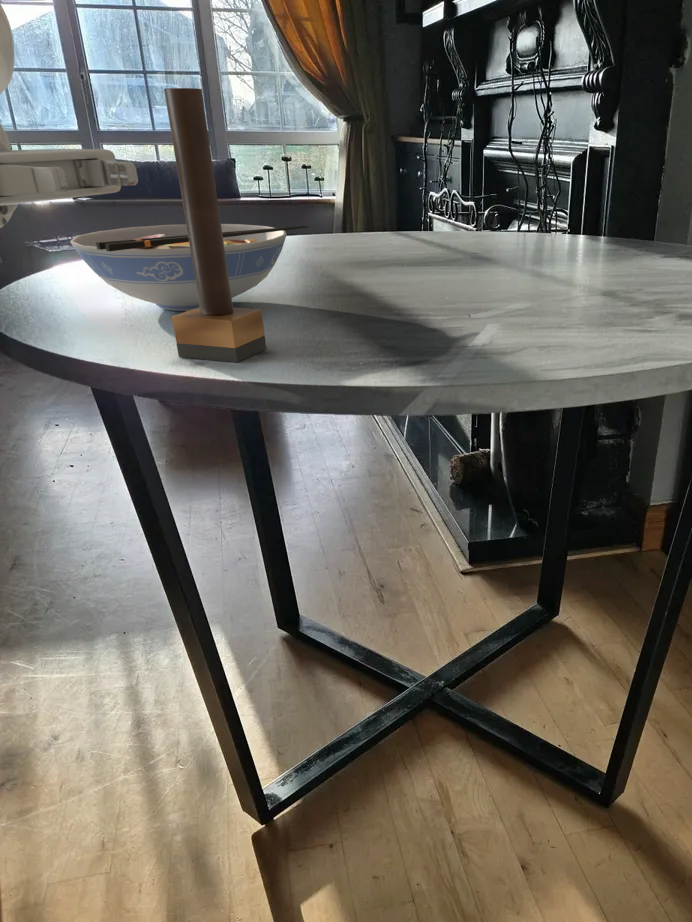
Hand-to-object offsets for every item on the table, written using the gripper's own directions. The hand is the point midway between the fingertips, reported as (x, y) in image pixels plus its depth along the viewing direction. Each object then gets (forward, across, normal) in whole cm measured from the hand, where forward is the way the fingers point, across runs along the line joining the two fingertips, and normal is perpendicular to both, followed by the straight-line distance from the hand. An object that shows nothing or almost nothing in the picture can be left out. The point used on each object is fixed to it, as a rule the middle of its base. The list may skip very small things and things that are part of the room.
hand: (98, 176), depth 65 cm
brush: (+9, 0, -14) cm, 17 cm away
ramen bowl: (-5, -19, -14) cm, 24 cm away
